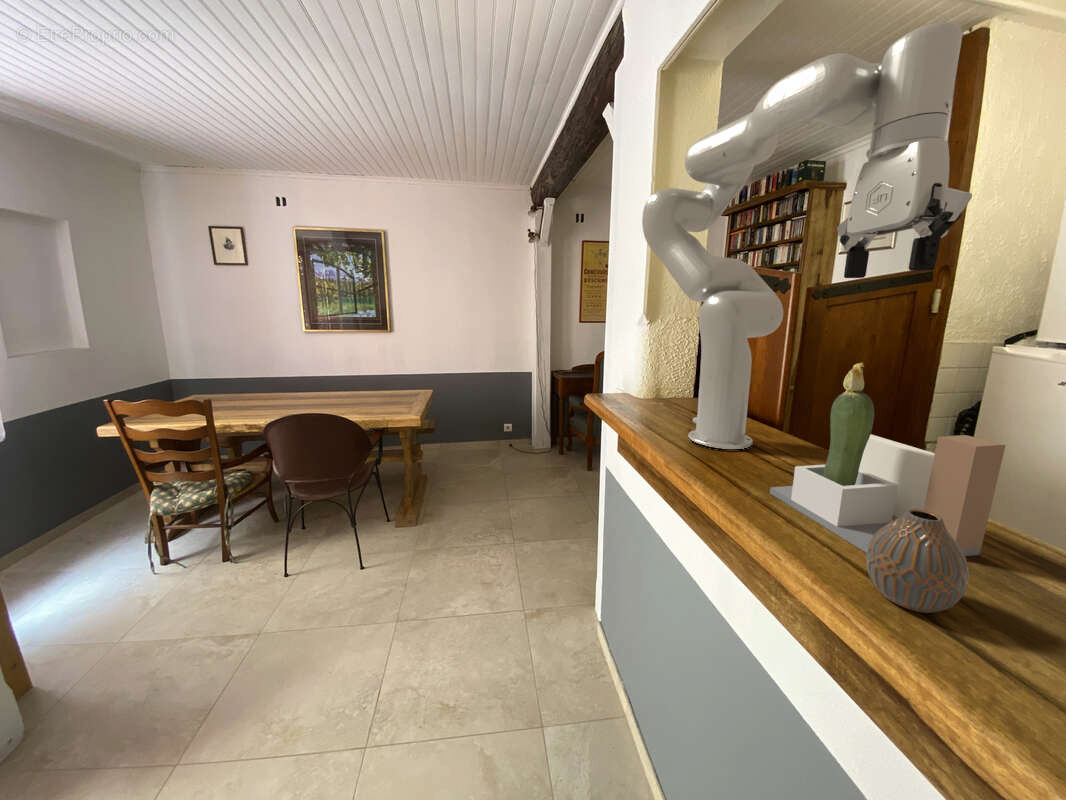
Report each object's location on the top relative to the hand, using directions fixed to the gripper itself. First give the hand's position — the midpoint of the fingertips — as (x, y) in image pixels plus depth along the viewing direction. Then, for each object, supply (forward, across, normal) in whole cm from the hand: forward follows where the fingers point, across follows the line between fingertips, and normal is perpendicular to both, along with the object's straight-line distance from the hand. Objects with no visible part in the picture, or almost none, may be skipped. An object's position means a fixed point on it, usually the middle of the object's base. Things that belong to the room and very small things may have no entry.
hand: (885, 274), depth 57 cm
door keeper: (+32, +10, -9) cm, 35 cm away
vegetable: (+32, +9, -11) cm, 35 cm away
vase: (+32, +24, -18) cm, 44 cm away
